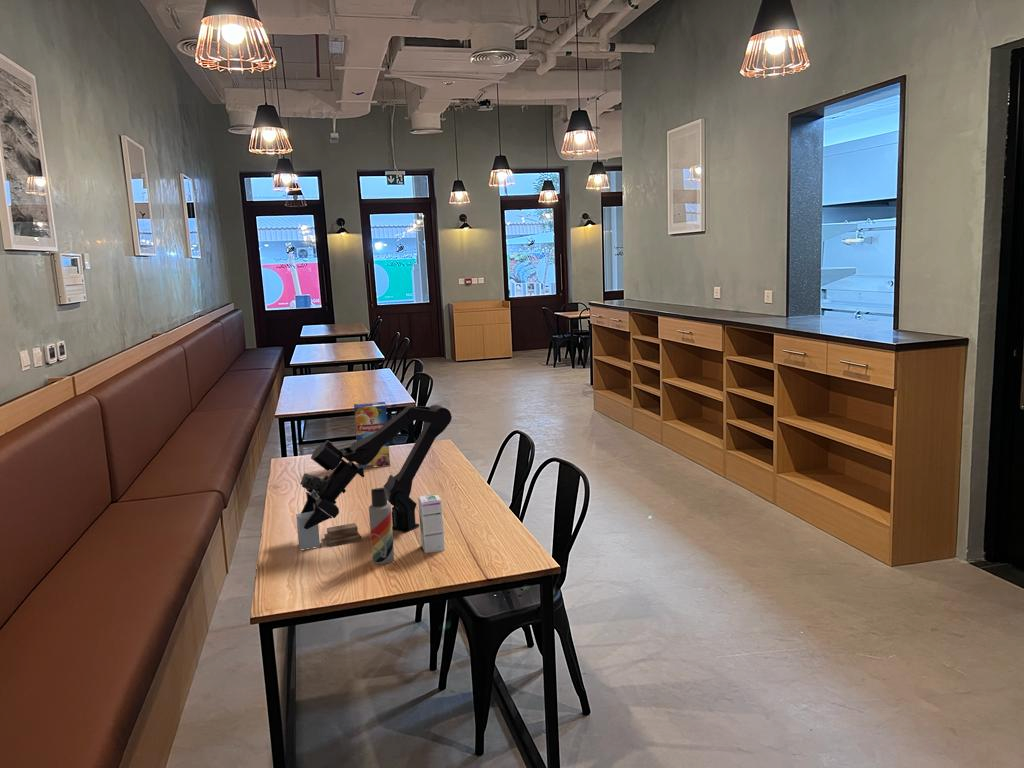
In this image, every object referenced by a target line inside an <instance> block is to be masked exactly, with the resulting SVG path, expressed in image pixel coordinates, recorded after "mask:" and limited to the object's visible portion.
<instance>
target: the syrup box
mask: <svg viewBox="0 0 1024 768" xmlns="http://www.w3.org/2000/svg"><path fill="white" fill-rule="evenodd" d="M417 498H418V500H417V501H418V516H419V527H420V529H419V531H420V540H421V541H420V542H421V543H420V544H421V548H422V550H423V552H424V553H425V554H426V553H427V554H430V553H436V552H442V551H443V552H444V551H446V550H445V549H446V548H445V531H444V520H443V518H444V517H443V508H442V507H443V505H442V504H443V503H442V500H441V498H440V497H439V495H438V494H426V495H421V496H418V497H417Z"/></svg>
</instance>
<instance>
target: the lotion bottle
mask: <svg viewBox="0 0 1024 768" xmlns="http://www.w3.org/2000/svg"><path fill="white" fill-rule="evenodd" d="M370 491H371V493H370V494H371V504H370V505H369V506H368V515H369V529H370V542H371V543H370V544H371V556H372V558H371V559H372V562H373V564H377V565H386V564H389V563H392V562H394V559H395V552H394V551H395V550H394V548H395V547H394V536H393V533H394V531H393V530H392V526H393V525H392V505H391V504H390V503H389V502H388V501H387V495H386V488H384V487H378V488H372V489H371V490H370Z"/></svg>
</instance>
